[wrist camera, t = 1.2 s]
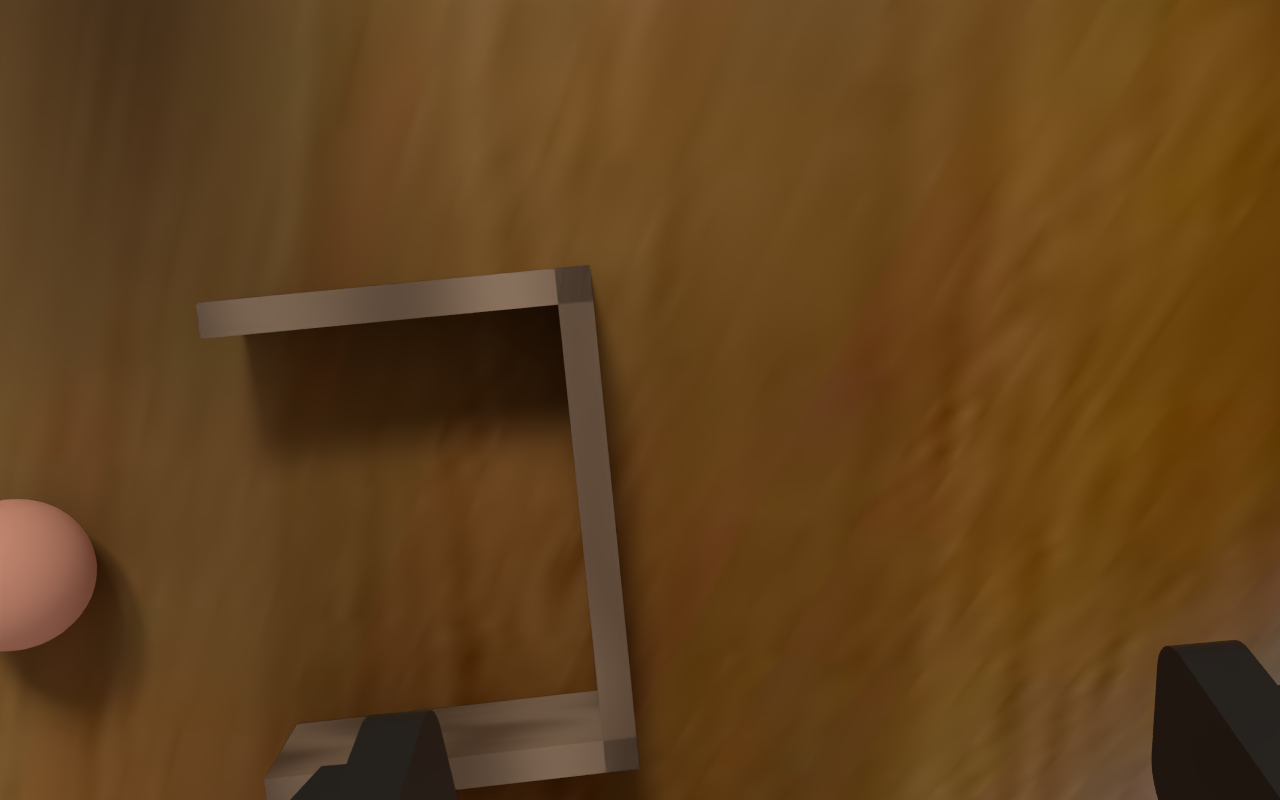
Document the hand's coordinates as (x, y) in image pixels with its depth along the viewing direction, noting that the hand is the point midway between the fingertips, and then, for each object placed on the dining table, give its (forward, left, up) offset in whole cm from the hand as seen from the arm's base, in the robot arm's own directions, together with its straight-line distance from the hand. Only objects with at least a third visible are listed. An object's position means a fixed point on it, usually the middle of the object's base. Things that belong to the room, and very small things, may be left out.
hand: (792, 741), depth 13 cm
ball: (-13, -15, -22) cm, 29 cm away
